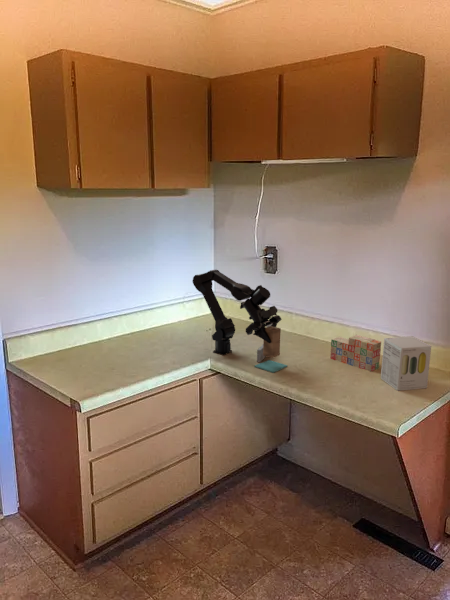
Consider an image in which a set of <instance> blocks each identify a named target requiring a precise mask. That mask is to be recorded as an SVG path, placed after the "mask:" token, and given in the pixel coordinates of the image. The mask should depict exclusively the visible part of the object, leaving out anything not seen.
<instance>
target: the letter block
mask: <svg viewBox="0 0 450 600" xmlns="http://www.w3.org/2000/svg"><path fill="white" fill-rule="evenodd" d="M265 331H266V333H267V334H268V336H269V338H270V340H271V343H268V342H267V341H265V340H263V343H262V345H263V355H264V356H266V357H268V358H271V359H273V358H277V357H278V356H280V354H281V353H280V352H281V332H282V331H281V327H278V326H276V327H273V326H270V327H267V326H266V327H265Z"/></svg>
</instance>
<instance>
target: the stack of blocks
mask: <svg viewBox="0 0 450 600" xmlns="http://www.w3.org/2000/svg"><path fill="white" fill-rule="evenodd" d="M381 346H382V341H380V340H378V339H377V340H376V339H374V338H371V337H366V336H363V335H358V334H355V335H352V336H349V338H345V337H342V336H337V337H334V338H331V340H330V355H329V356H330V360H334V361H336V362H339V363H342V364H346V365H348V366H349V365H350V366H352V367H354V368H358V369H361V370H366V371H369V372H373V371H375V370H378V369H379V368H380V360H381V359H380V358H381V351H382V350H381V349H382V347H381Z"/></svg>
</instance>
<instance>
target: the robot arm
mask: <svg viewBox="0 0 450 600" xmlns="http://www.w3.org/2000/svg"><path fill="white" fill-rule="evenodd" d="M213 281H214V282H215V283H217V284H218V285H220V286H221V287H222V288H224V289H226V290H228V291H229V292H230V295H231V296H232V297H233V298H234V299H236V301H237V302H238V301H239V302H240V301H242V302H240V306H239V309H241V310H242V309H245V311H246V312H247V314H248V315H249V317H248V319H249V320H252V321H253V322H251V323H250V324H249V325H248V326H247V327H246V328H245V333H246V334H247V336H249V335H253V336H256V337H259V338H260V339H262V340H263V341H264V340H265V341H267V342H268V343H271V340H270V338H269V336H268V334H267V333H266V331H265V328H267V327H270V326H273V327H278V326H277V325H278V323H280V322H281V321H282V317H281V316H280V315H279V314H278V308H277V307H276V306H275V305H272V306H269V309H267V310H265V308H261V306H262V305H263V304H264V303H266V301H267V300H269V298H271V292H270V291H269V289H267V288H266V287H264V286H262V284H259V285H256V288H255V289H252V287H251V286H249V285H246V284H243V283H239V282H236V281H235V280H233V279H231V277H228V276H227V275H225V274H224V273H222V272H220V270H219V269H211V270H208V271H207V272H203V273H199V274H195V275H194V276H193V277H192V284H193V286H194V287H195V289H196V290H197V291H198V292H199V293H200V294H202V296H203V298H204V301H205V302H206V305H207V307H208V308H209V311H210V313H211V315H212V317H213V319H214V322H215V323H214V329H215V332H214V333H213V334H211V337H212V338H211V339H212V340H213V341H214V342H215V343H214V346H215V347H214V350H212V352H213V353H216V354H219V355H224V356H225V355H227V354H229V353H232V352H233V350H232V349H231V345H232V344H231V343H232V342H231V339H233V337H234V335H235V333H236V327H235V326H236V325H235V323H234V321H233V319H232V318H231V317H230V318H227V316H226V315H225V314H224V311H223V309H222V308H221V305H220V302H219V301H218V299H217V297H216V294H215V293H214V291H213Z"/></svg>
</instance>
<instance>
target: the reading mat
mask: <svg viewBox="0 0 450 600" xmlns="http://www.w3.org/2000/svg"><path fill="white" fill-rule="evenodd" d="M254 368H257V369H260V370H263V371H267V372H269V371H270V373H274V374H275V373H277V372H278V371H280V370H283V369H286V368H288V364H284V363H280V362H277V361H275V360H274V361H273V360H271V359H267V360H266V361H261V362H259V363H257V364H255V365H254Z"/></svg>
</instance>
